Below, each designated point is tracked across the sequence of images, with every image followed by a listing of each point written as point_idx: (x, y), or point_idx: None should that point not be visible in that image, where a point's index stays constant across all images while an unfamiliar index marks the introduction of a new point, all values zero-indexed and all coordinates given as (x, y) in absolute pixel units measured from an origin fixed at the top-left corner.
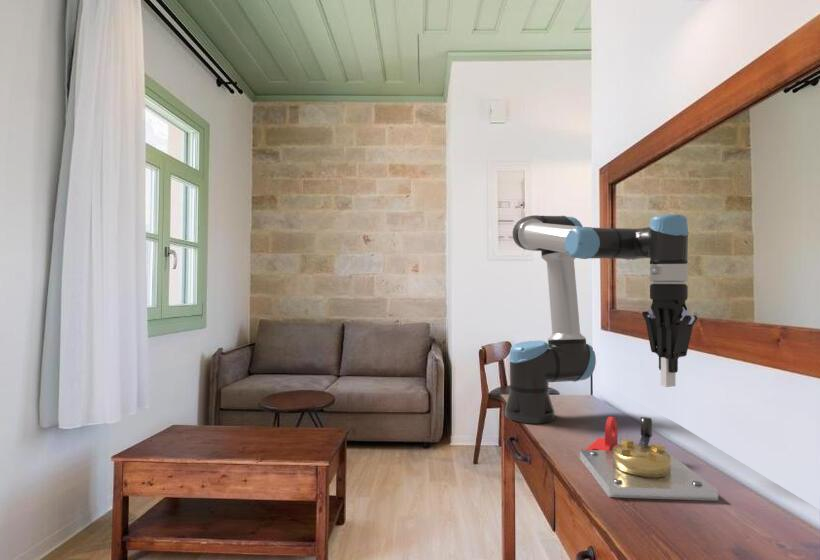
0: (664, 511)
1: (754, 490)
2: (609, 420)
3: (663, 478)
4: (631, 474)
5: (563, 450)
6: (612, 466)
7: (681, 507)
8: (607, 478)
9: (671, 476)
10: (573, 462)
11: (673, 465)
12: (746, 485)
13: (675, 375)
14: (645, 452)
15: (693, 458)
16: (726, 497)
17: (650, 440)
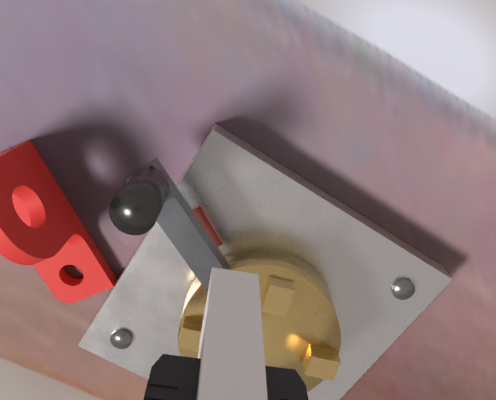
0: (390, 394)
1: (480, 119)
2: (14, 254)
3: None
4: None
5: (14, 322)
6: None
7: (403, 355)
8: None
9: (338, 298)
10: (103, 360)
11: (296, 225)
12: (453, 102)
13: (260, 320)
14: (266, 333)
15: (245, 16)
16: (446, 229)
17: (169, 181)
